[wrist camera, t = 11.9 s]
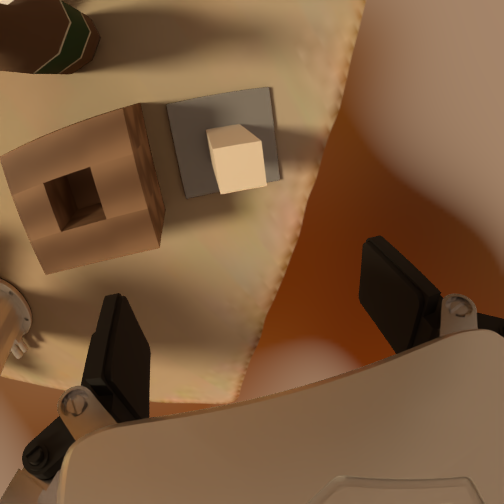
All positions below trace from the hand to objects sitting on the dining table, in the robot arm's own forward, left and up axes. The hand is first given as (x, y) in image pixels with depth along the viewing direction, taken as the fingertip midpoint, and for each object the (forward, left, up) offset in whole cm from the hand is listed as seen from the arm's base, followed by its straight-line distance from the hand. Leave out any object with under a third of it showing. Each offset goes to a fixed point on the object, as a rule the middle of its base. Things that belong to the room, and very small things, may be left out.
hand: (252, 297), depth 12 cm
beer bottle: (+17, +14, -29) cm, 36 cm away
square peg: (0, -2, -28) cm, 28 cm away
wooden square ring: (0, +14, -29) cm, 32 cm away
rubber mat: (0, -2, -29) cm, 29 cm away
